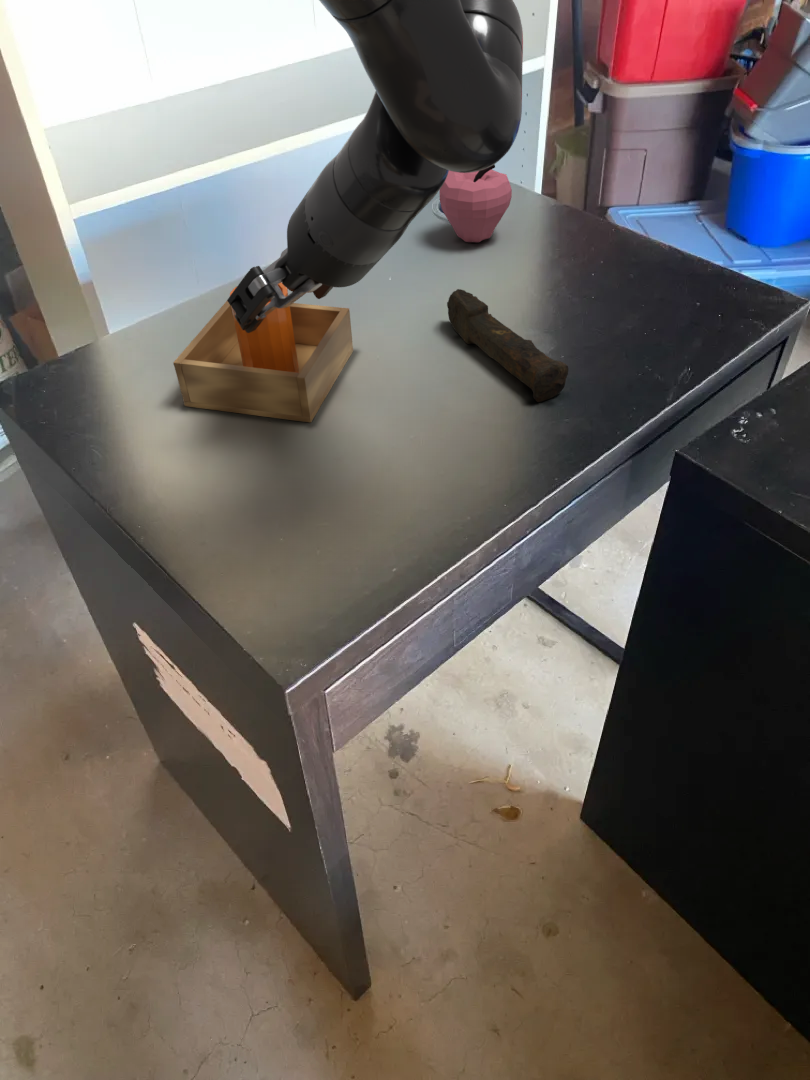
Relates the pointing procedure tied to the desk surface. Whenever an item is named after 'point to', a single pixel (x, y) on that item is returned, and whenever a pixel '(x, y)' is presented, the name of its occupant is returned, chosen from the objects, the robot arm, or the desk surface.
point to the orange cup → (270, 341)
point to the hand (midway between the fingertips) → (280, 305)
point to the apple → (475, 202)
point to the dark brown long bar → (506, 346)
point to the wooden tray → (229, 386)
